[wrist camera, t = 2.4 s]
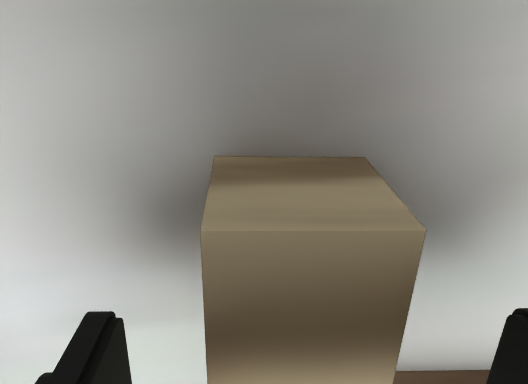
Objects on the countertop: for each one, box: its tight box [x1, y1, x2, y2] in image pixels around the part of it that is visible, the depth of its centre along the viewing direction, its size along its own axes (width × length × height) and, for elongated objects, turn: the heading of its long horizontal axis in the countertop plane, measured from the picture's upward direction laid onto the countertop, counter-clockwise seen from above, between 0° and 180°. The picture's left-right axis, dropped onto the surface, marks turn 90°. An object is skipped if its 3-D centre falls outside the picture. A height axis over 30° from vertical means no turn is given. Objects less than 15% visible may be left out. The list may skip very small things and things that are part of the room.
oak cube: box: [200, 156, 426, 384], centre depth 12 cm, size 5×5×5 cm
